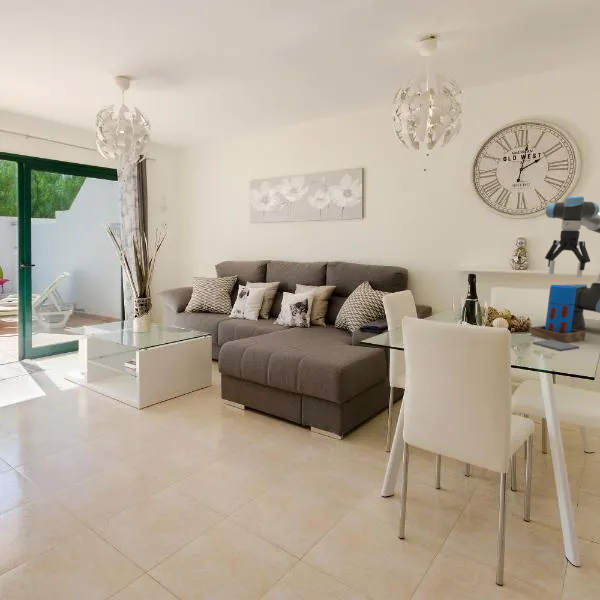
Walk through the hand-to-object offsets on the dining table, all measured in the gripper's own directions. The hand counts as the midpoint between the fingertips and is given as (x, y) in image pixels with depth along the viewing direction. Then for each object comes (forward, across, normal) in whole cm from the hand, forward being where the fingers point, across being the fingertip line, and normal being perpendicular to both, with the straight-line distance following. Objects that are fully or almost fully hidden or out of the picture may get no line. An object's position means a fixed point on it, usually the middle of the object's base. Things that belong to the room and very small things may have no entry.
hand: (564, 275), depth 213 cm
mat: (+30, +10, -16) cm, 35 cm away
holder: (+30, 0, 0) cm, 30 cm away
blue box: (+30, 0, 0) cm, 30 cm away
